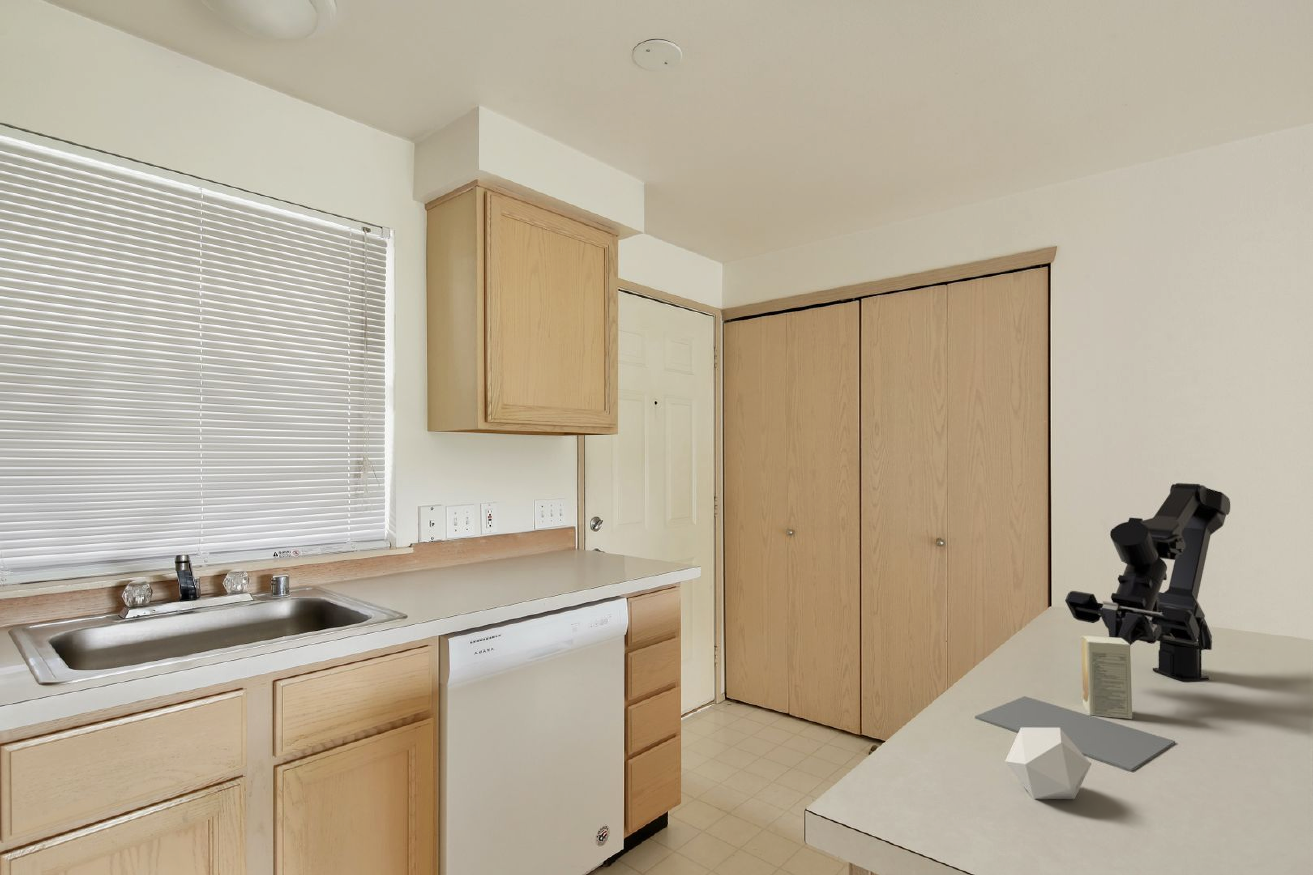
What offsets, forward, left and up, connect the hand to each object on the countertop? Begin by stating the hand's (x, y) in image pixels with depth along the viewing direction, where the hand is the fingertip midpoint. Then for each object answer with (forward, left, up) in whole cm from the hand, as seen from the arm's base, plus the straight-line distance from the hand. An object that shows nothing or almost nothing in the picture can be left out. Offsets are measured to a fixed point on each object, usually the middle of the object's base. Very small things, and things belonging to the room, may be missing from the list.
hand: (1114, 654), depth 115 cm
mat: (+14, +7, -9) cm, 18 cm away
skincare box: (+3, +1, -9) cm, 10 cm away
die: (+33, +23, -9) cm, 41 cm away
